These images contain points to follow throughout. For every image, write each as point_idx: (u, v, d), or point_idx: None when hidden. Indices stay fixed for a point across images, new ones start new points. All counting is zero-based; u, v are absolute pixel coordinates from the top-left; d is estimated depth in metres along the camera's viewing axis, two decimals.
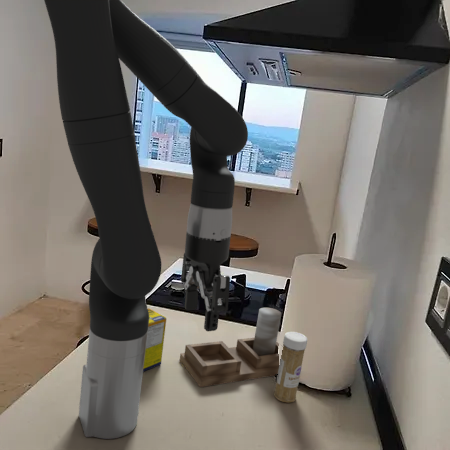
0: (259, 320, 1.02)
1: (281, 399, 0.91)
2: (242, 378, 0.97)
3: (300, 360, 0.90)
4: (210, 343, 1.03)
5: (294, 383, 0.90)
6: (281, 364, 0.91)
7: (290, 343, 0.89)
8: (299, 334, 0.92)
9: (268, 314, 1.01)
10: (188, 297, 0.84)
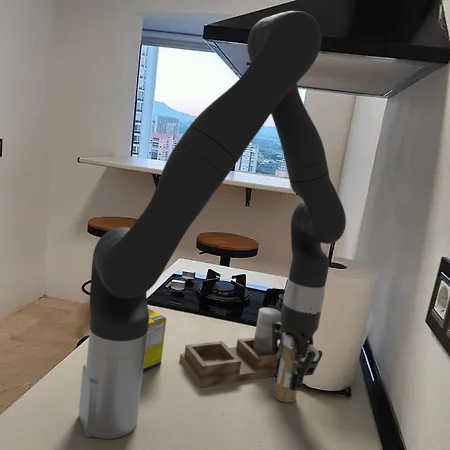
0: (259, 320, 1.02)
1: (281, 399, 0.91)
2: (242, 378, 0.97)
3: None
4: (210, 343, 1.03)
5: None
6: (281, 364, 0.91)
7: (290, 343, 0.89)
8: None
9: (268, 314, 1.01)
10: None
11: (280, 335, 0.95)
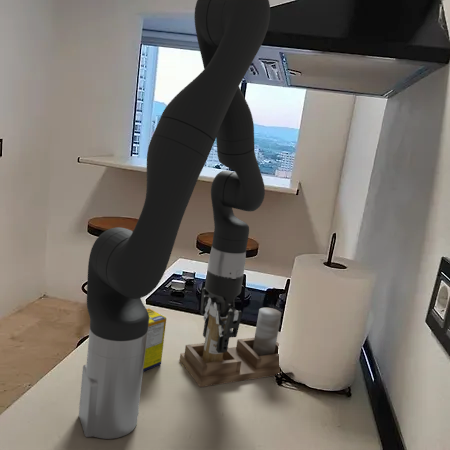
0: (259, 320, 1.02)
1: None
2: (242, 378, 0.97)
3: (224, 328, 0.95)
4: None
5: None
6: (207, 332, 0.96)
7: (214, 312, 0.94)
8: None
9: (268, 314, 1.01)
10: (206, 327, 1.00)
11: None
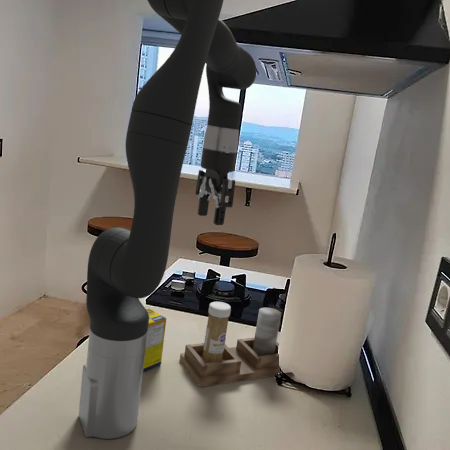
0: (259, 320, 1.02)
1: None
2: (242, 378, 0.97)
3: (224, 327, 0.96)
4: None
5: (218, 349, 0.96)
6: (206, 331, 0.97)
7: (213, 311, 0.95)
8: (224, 303, 0.97)
9: (268, 314, 1.01)
10: (201, 204, 1.07)
11: None
